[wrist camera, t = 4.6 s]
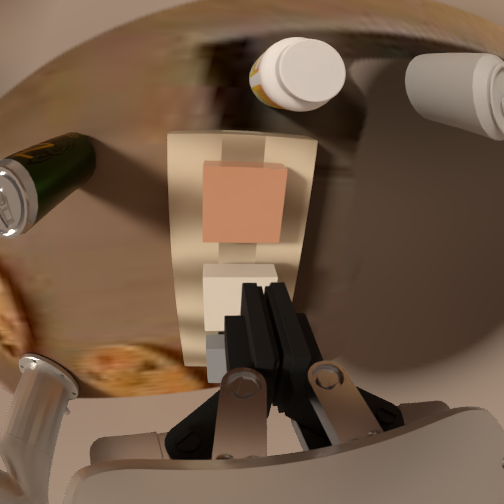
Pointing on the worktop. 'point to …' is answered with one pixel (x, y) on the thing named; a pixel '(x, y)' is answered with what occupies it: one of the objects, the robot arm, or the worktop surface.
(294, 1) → the worktop surface
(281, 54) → the supplement bottle
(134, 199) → the worktop surface
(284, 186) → the terracotta tile
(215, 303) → the cream tile
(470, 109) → the can
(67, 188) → the beer can
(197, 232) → the button board
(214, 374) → the slate tile
